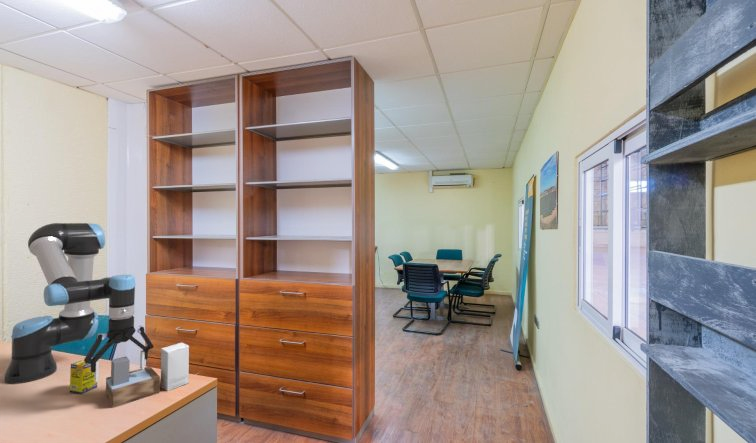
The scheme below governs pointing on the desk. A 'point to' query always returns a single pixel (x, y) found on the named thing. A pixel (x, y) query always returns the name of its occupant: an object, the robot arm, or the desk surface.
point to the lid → (124, 374)
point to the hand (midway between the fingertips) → (120, 374)
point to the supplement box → (81, 377)
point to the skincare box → (174, 366)
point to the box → (134, 389)
